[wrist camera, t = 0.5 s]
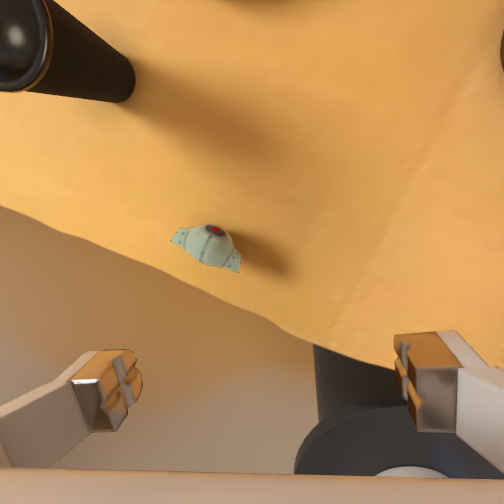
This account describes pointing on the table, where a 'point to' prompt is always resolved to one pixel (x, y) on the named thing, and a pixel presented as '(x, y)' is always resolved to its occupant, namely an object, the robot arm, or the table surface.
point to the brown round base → (502, 51)
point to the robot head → (209, 246)
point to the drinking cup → (58, 55)
